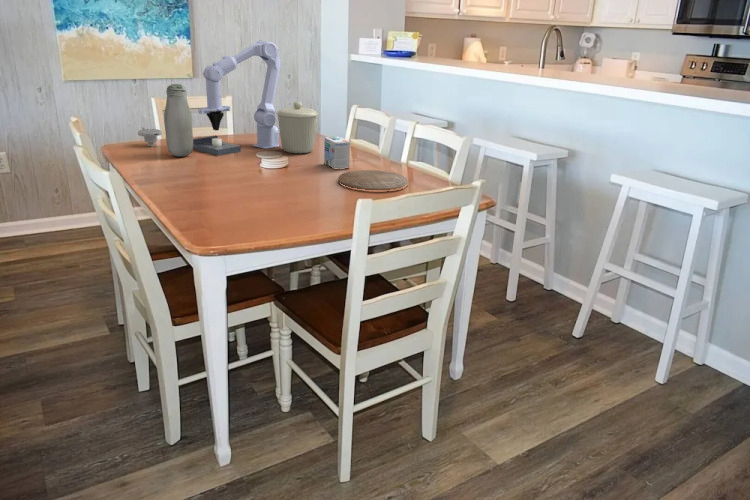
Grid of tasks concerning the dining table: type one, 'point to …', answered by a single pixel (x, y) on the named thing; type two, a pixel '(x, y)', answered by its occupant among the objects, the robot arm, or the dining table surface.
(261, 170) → the dining table surface
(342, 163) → the light bulb box
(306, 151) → the canister
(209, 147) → the jig
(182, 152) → the grey green bottle
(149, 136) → the showerhead
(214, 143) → the white rounded capsule
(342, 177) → the trivet
